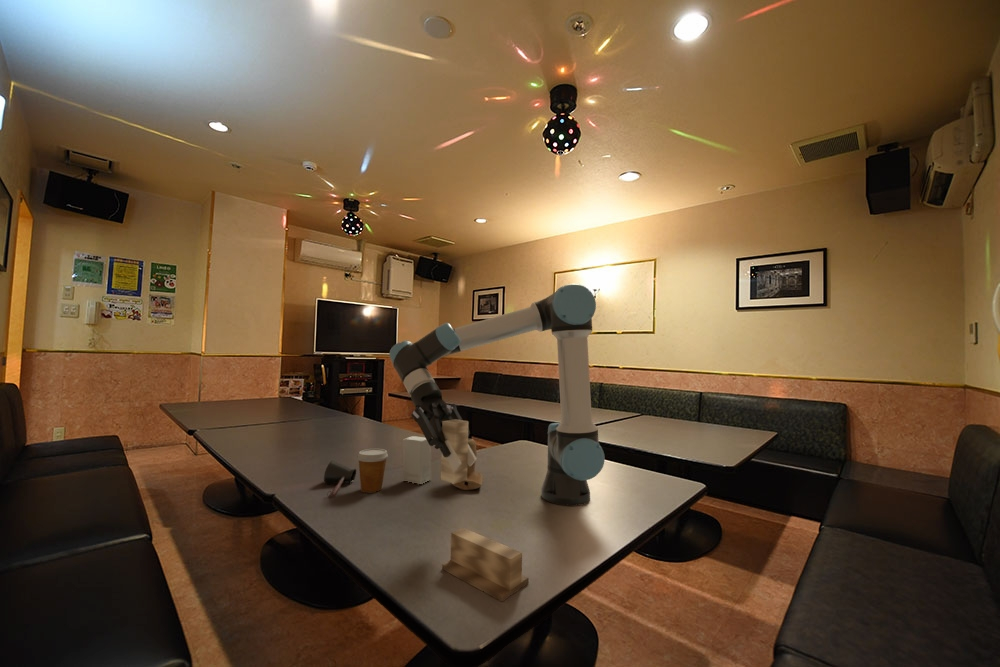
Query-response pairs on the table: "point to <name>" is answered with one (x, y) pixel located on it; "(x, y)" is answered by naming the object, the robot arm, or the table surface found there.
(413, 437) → the skincare box
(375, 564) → the table surface
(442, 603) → the table surface
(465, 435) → the block
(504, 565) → the ridge
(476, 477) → the tan upright curved piece
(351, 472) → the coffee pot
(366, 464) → the disposable coffee cup
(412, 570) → the table surface
